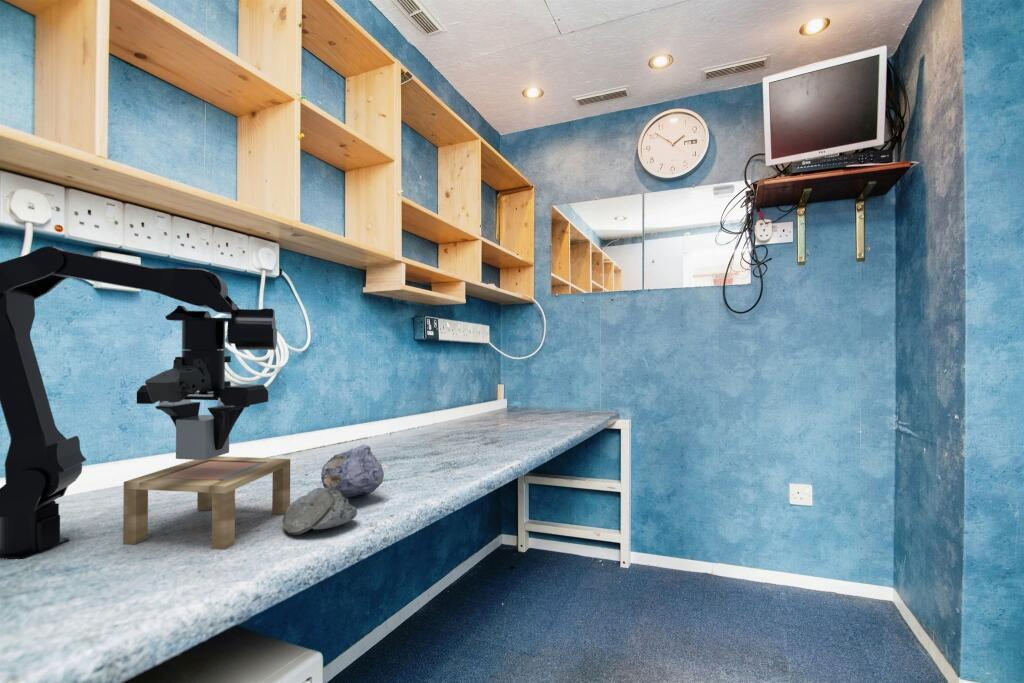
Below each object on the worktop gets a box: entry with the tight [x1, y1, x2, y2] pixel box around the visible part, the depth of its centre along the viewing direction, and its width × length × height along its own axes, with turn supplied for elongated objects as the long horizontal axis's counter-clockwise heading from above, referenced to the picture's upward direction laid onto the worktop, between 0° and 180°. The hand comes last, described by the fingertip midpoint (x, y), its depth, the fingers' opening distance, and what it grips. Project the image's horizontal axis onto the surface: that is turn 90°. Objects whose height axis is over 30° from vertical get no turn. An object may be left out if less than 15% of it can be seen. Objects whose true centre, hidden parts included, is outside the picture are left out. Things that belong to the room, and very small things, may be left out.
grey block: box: [175, 414, 230, 461], centre depth 75 cm, size 5×5×6 cm
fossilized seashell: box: [282, 486, 358, 536], centre depth 77 cm, size 10×9×10 cm
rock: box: [320, 444, 385, 498], centre depth 88 cm, size 11×10×10 cm
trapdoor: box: [160, 461, 264, 481], centre depth 76 cm, size 10×10×1 cm
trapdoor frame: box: [122, 455, 291, 551], centre depth 76 cm, size 16×16×9 cm
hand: (203, 448), depth 75 cm, fingers closed on grey block, 5 cm apart
